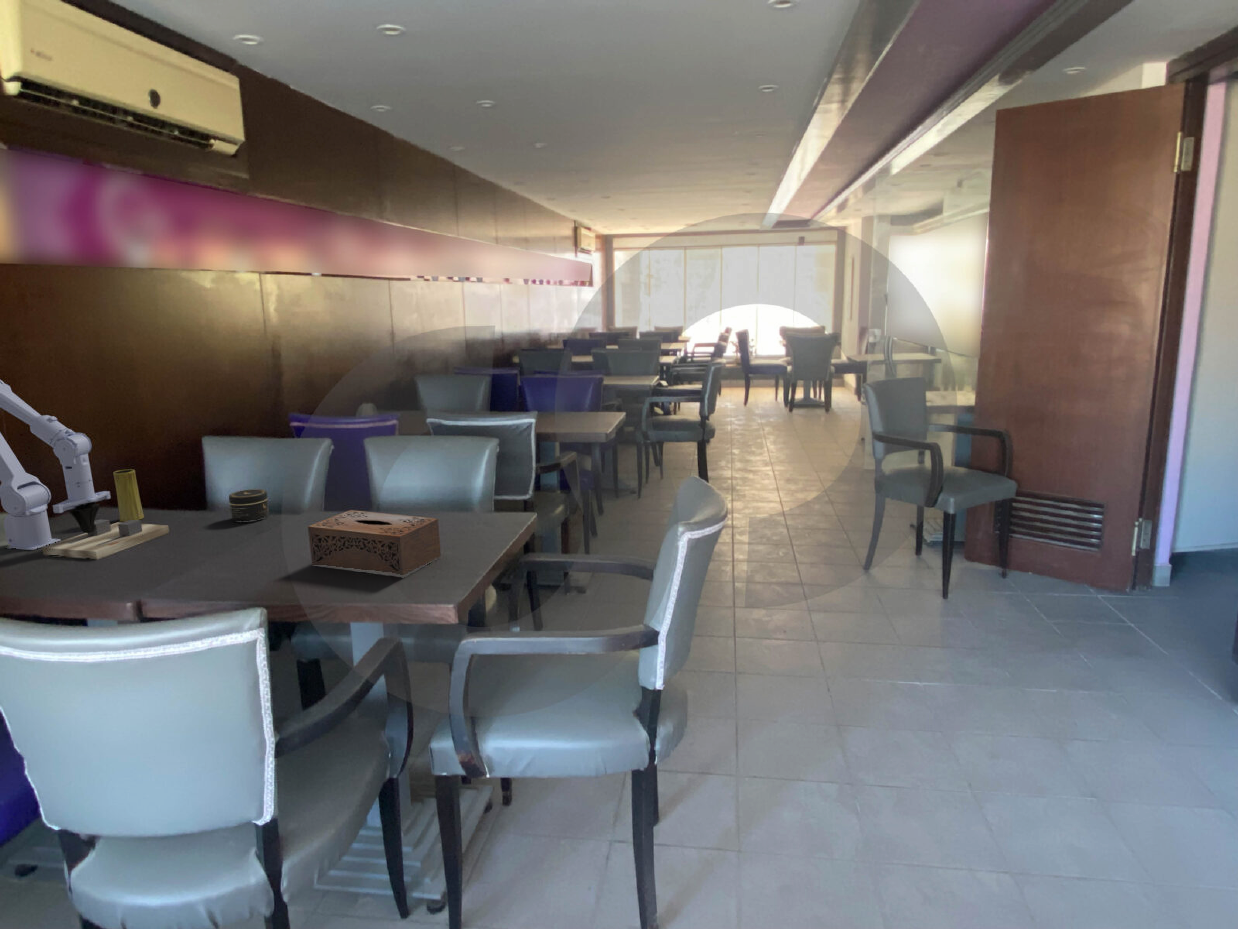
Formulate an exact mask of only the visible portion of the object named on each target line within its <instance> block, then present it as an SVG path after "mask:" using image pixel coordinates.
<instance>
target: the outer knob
mask: <svg viewBox="0 0 1238 929" xmlns="http://www.w3.org/2000/svg"><path fill="white" fill-rule="evenodd" d="M141 520H142V519H140V520H129V521H126V522H121V523H120V524H118V528H119V534H120V535H124V536H131V535H134V534H136V533H139V532H142V525H141V524H142V521H141Z"/></svg>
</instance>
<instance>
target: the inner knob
mask: <svg viewBox="0 0 1238 929" xmlns="http://www.w3.org/2000/svg"><path fill="white" fill-rule="evenodd" d="M110 525H111V523H110V519H100V518H99V519H95V521H94V528H93V532H91V533H88V535H100V534H103V533H106V532H109V531H111V528H110Z"/></svg>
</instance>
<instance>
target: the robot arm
mask: <svg viewBox="0 0 1238 929" xmlns="http://www.w3.org/2000/svg"><path fill="white" fill-rule="evenodd" d="M0 408H1V409H3V411H6V412H7V413H9V414H11V415H12V416H14V417H16V418H17V419H19V420H21V421H22V422H24V423H25V424H27V425H29V430H30V432H31V433H32V434H33V435H35V436H36V437H37V438H38V439H40V440H41V441H43V442H44V443H46V444H47V445H49V446H50V447H51V448H52V450H53V453H54V455H55V456H56V457H57V458H58V460H59V463H60V465H61V466H62V471H63V476H64V481H65V487H66V493H67V499H66V500H64V501H61V502H59V503H56V504H54V505H53V504H52V508H53V509H52V510H53V513H54V514H62V513H64V512H66V511H68V513H69V515H71V516H72V517H73V518H74V519H75V520H76V522H77V524H78V526H79V528H80V530H81V532H82V534H84V533H91V532H93V528H94V521H96V517H97V514H98V511H99V509H100V504H99V503H96V502H99V501H103V500H109V499H111V498H112V497H111V492H110V491H108V490H103V491H98V492H95V488H94V483H93V482H94V481H93V476H92V470H91V464H90V460H89V459H90V458H89V453H90V452H91V450H92V442H91V439H90V438H89V437H88V436H87V435H86V434H85V433H82V432H75V431H73V430H72V428H68V427H66V426H65V425H64V424H62V423H61V422H59V420H58V418H57V417H56V416H53V415H52V416H51V415H48V414H46V415H45V414H44V415H41V414H40V413H39V412H38V411H36V410H35V409H34V408H32V406H31V405H29V404H27V403H26V402H25V401H24V400H23V399H21V397H19V396H18V395H17V394H15V393H14V392H13V391H12V388H11V385H9V384H7V383H5V382H4V381H3V380H1V379H0ZM0 482H1V483H0V502H1V503H0V504H1V506H2V509H3V510H4V511H5V512H6V513H8V514H7V515H6V516H5V519H4V520H3V526H4V532H5V538H6V541H7V542H8V543H7V545H8V544H10V545H11V546H10V547H9V548H8V549H11V548H16V549H15V550H26V551H34V550H37V548H38V549H40V548H41V549H42V547H45V546H46V545H47V546H48V545H49V544H50V545H51V544H54V543H55V542H56V543H57V542H58V541H59V542H60V541H62V540H61V539H60V538H52V533H51V529H50V523H49V517H48V512H47V509H48V504H49V503H50V502H51V499H52V494H51V490H50V489H49V488H48V487H47V486H46V484H45V485H44V484H43V483H42V482H41V481H40V479H39V478H38V477H37V476H34V475H32V474H30V473H28V472H26V471H25V468H24V467H23V466H22V464H21V463H20V460H18V457H17V456H16V454H15V453H14V452H13V450H12V449H11V447H10V445H9V444H8V443H7V440H6V439H5V437H4V436H3V434H2V433H1V432H0Z"/></svg>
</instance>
